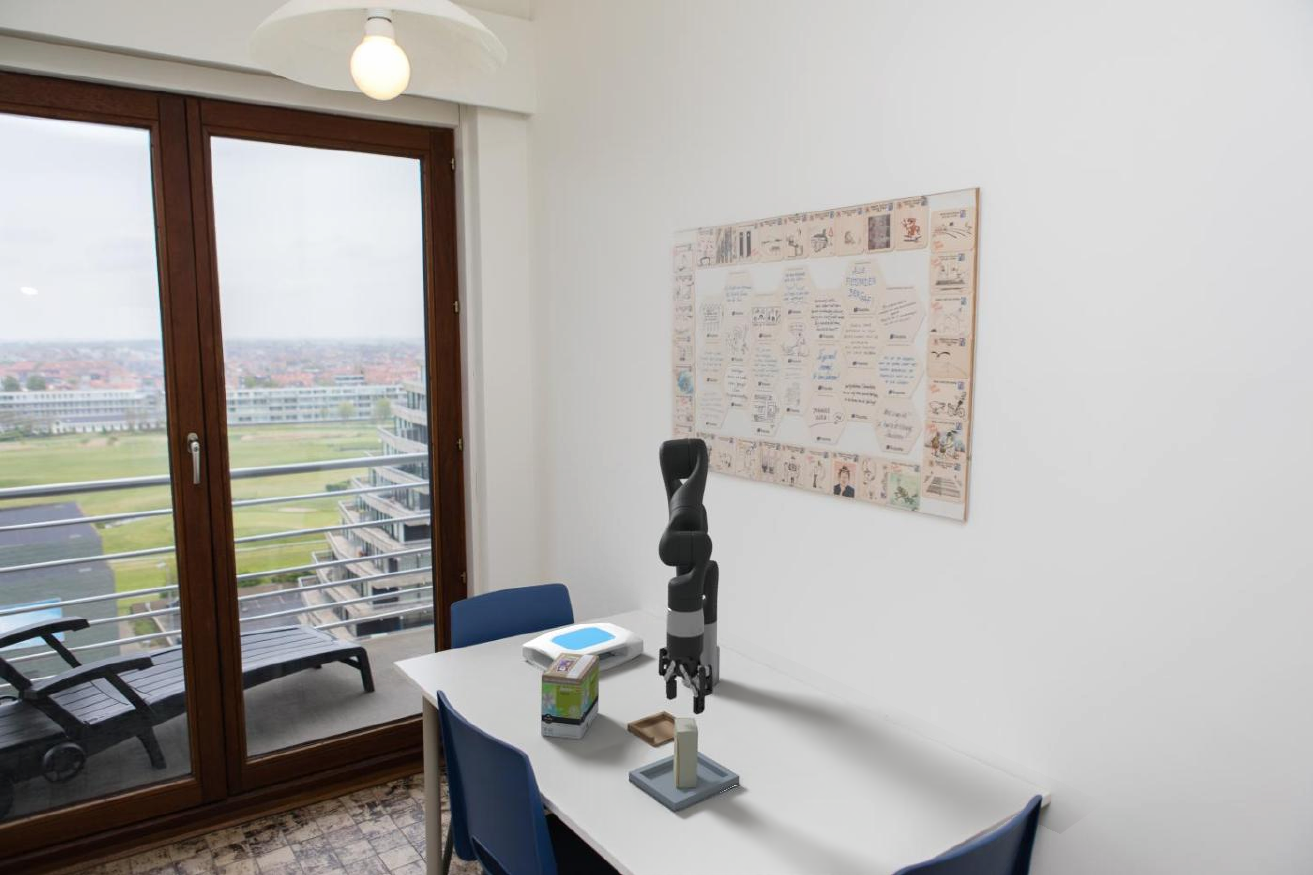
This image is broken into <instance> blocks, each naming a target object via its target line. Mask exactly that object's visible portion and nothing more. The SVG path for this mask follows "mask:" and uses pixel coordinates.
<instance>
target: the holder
mask: <svg viewBox="0 0 1313 875" xmlns="http://www.w3.org/2000/svg"><path fill="white" fill-rule="evenodd" d="M675 718H677V717H676V716H674V715H672V714H670V713H668V712H667V711H661V712H657V713H654V714H652V715H649V716H645V717H643V718H639V719H638V720H634V721H631V722H628V723H626V724H627V727H626V730H627V732H629V733H630V734H632V735H634V736H636V737H637V738H638V739H640V740H641V741H643V742H645V743H646V744H647V745H649V746H651V747H653V748H655V747H657V746H660V745H663V744H665V743H668V742H671V741H673V740H674V728H675Z"/></svg>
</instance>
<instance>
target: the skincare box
mask: <svg viewBox="0 0 1313 875" xmlns="http://www.w3.org/2000/svg"><path fill="white" fill-rule="evenodd" d="M698 746H699V729H698V725H697V721H696V718H695V717H680V718H679V717H678V718H677V717H676V718H675V728H674V741H673V755H674V767H673V773H674V780H675V785H676V788H691V787H696V784H697V751H698V749H699V748H698ZM698 752H699V751H698Z"/></svg>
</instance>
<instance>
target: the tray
mask: <svg viewBox="0 0 1313 875" xmlns="http://www.w3.org/2000/svg"><path fill="white" fill-rule="evenodd" d="M673 767H674V754H672V755H670V756H666V757H664V758H662V759H659V760H656V761H653V762H651V763H648V764H646V765H643V766H641V767H638V768H635V769H633V770H630V771H628V782H630V783H631V784H632V785H634V786H635V787H637V788H638V789H640V790H641V791H642V792H643V793H645V794H647V795H648V796H649V797H651V798H652V799H654V800H656V801H657V802H658V803H660V804H661V805H662V806H664V807H665V808H667V809H668V810H669V811H671V812H672V813H674V814H676V813H678V812H681V811H684V810H686V809H687V808H690V807H693V806H695V805H696V804H699V803H701V802H703V801H705V800H709V799H710V798H712V796H713V797H715V796H717V795H719V793H720V792H722V791H724V790H726V789H728V788H730V787H732V786H734V785H738V784H739V785H740V775H739V774H738V773H736V772H734V771H732V770H730V769H729V768H727V767H725V765H722V764H721V763H719V762H717V761H715V760H713V759H712V758H710V757H709V756H707V755H705V754H703V753H701V752H700V751H697V784H696V787H691V788H676V785H675V780H674V773H673ZM739 785H738V786H739ZM724 792H725V791H724ZM722 793H723V792H722ZM716 794H717V795H716ZM720 794H721V793H720ZM714 795H715V796H714Z"/></svg>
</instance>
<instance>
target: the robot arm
mask: <svg viewBox="0 0 1313 875" xmlns="http://www.w3.org/2000/svg"><path fill="white" fill-rule="evenodd" d="M658 456H659V458H658V460H659V466H660V470H661V471H660V472H661V476H662V479H663V483H664V489H665V491H666V492H665V493H666V498H667V507H668V523H667V526H666V527H665V529H664V531H663V533H662V535H661V537H660V540H659V544H658V556H659V559H660V561H661V562H662V564H664V565H665V566H668V567H673V568H674V567H675V576H674V577H672V578H670V579H669V581H668V584H667V611H666V612H667V613H666V635H665V636H666V638H665V639H666V643H665V644H666V646H664V647H661V648H659V650H658V651H659V653H658V654H659V656H658V675H659V676H660V677H662V678H663V680H664V682H665V695H666V699H667V700H669V701H672V700H674V699H676V698H677V696H678V680H676V679H677V678H678V677H679V678H681V683H682V684H683V685H684V686H685V687H688V688H691V691H692V694H693V696H692V697H693V705H692V706H693V707H692V708H693V709H692V710H693V711H692V713H693V714H695V715H699V714H702V713H704V711H705V709H706V708H705V707H706V706H705V704H706V703H705V702H706V697H708V696H710V695H712V694H713V693H714V692H713V691H714V690H713V689H714V688H713V687H714V686H716V685H717V683H718V682H720V668H721V667H720V666H721V665H720V660H721V659H720V657H721V656H720V654H721V650H720V649H721V648H720V646H719V645H718V596H719V595H718V593H719V581H720V580H719V579H720V570H719V569H720V568H719V565H718V564H719V563H718V562H717V561H716V560H715V559H714V560H713V559H711V558H712V552H713V542H712V541H713V540H712V538H711V537H710V535H709V534H708V533H709V524H708V522H709V521H708V513H707V509H706V506H705V505H704V502H703V501H704V496H705V490H706V485H707V478H708V473H709V452H708V448H707V444H706V442H705V440H703V439H702V438H681V439H679V438H677V439H669V440H665V441H663V442H662V443H661V444H660V447H659V452H658ZM682 480H686V481H685V482H684V483H683V482H682Z"/></svg>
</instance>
